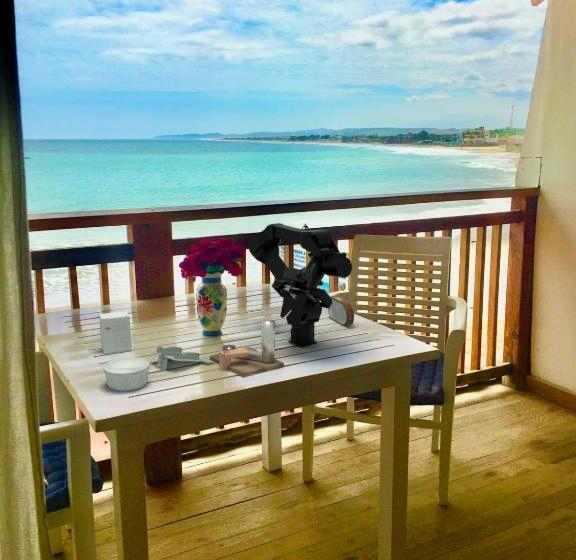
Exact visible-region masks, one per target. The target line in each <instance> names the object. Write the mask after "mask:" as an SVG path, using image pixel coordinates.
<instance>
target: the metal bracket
mask: <svg viewBox="0 0 576 560" xmlns="http://www.w3.org/2000/svg"><path fill="white" fill-rule="evenodd" d="M150 353H151V354H155V355H157V356H158V359H157V363H156V368H157V369H159V370H162V371H165V372H166V371H167V367H168V363H169V362H168V361H169V360H173V361H175V362H200V363H201V362H202V363H206V364H216V362H214V361H212V360H210V359H206V358H203V357H201V356H200V353H199V352H194V351H190V352H189V351H188V352H185V351H183V348H182V347H180V346H168V347H163V346H159V345H158V346H157V347H156V351H153V350H152V351H151V350H150Z"/></svg>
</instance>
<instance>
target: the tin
mask: <svg viewBox="0 0 576 560" xmlns="http://www.w3.org/2000/svg"><path fill="white" fill-rule="evenodd" d="M330 297H331V298H332V305H331V306H330V308H329V309H328V308H327V313H328V316H329V317H330V319H331V320H333V321H334V322H335V323H337V324H339V325H341V326H343V327H346V326H352V325H353V324H354V321H355V312H354V307H353V305H352V303H351V302H350V301H349V300H348V299H346V298H344V297H342V296H340V295H338V294H336V295H331V296H330Z"/></svg>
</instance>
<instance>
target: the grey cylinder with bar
mask: <svg viewBox="0 0 576 560" xmlns="http://www.w3.org/2000/svg"><path fill="white" fill-rule="evenodd" d="M260 323H261V325H260V327H261V328H260V329H261V332H260V333H261V335H260V336H261V338H260V339H261V346H260V347H261V351H259V352H257V351H258V350H257V351H250V350H247V351H248V352H249V356H244V357H238V358H245V359H251V360H257V361H262V362H265V363H271V362H274V361H275V359H276V336H275V335H276V329H275V328H276V321H275V319H272V318H270V319H269V318H267V319H261V322H260ZM221 349H222V350H221V351H224V350H233V349H238V348H236V345H234V344H225V345H223V346H222V347H221Z"/></svg>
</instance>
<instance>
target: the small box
mask: <svg viewBox="0 0 576 560" xmlns="http://www.w3.org/2000/svg"><path fill="white" fill-rule="evenodd" d="M98 317H99V331H100V343H101V344H100V346H101V350H102V354H103V355H107V354H108V355H109V354H116V353H117V354H118V353H124V352H126V353H127V352H132V336H131V335H132V334H131V321H130V320H131V318H130V315H129V313H128V311H118V312H110V313H109V312H107V313H99V315H98Z"/></svg>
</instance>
